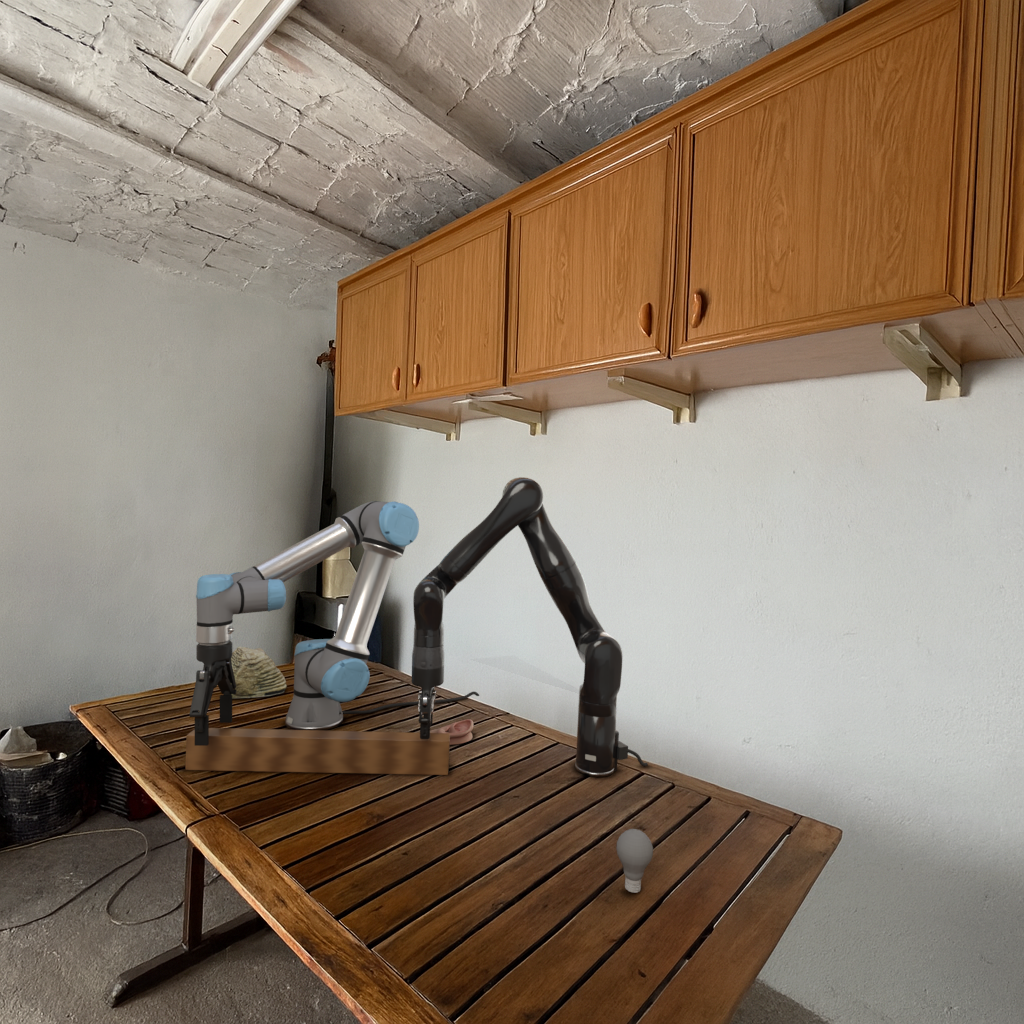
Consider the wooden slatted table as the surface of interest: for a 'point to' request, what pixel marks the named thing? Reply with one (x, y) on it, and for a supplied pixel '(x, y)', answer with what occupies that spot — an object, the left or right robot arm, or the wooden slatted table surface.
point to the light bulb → (634, 857)
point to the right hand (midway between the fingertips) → (426, 731)
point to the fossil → (256, 674)
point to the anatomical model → (457, 731)
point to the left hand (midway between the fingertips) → (214, 733)
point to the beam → (319, 751)
